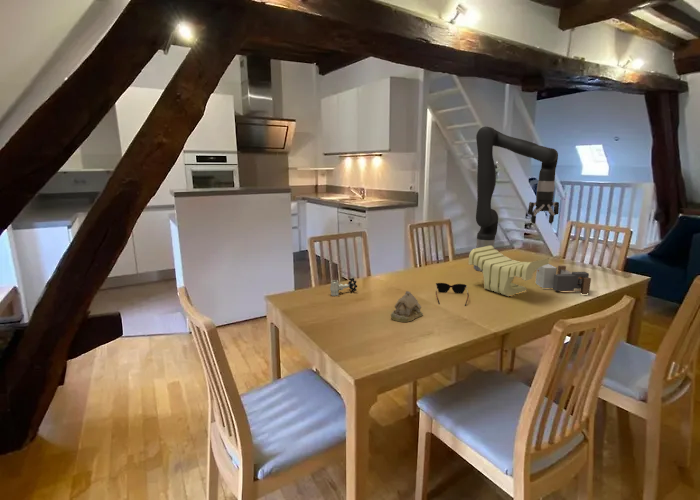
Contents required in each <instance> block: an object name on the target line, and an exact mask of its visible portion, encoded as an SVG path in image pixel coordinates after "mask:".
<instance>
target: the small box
mask: <svg viewBox="0 0 700 500" xmlns="http://www.w3.org/2000/svg"><path fill="white" fill-rule="evenodd" d="M557 271H558V267H556V266H553V265H552V264H550V263H549V264H547V265H544V266H541V267H539V268H538V269H536V271H535V272H536V273H535V283H536V284H537V285H539V286H540V287H542V288H553V283H554V275H555V274H557ZM536 284H535V285H536ZM537 285H536V286H537ZM539 286H538V287H539ZM540 287H539V288H540ZM542 288H541V289H542Z"/></svg>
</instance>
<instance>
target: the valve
mask: <svg viewBox="0 0 700 500" xmlns="http://www.w3.org/2000/svg"><path fill="white" fill-rule="evenodd" d="M356 283H357V280H355V278H354V277H351V278H349V280H348V282H347V283H345V284H343V283H339V280H338V279H331V280H330V287H329V289H330V295H331V296H332V297H338V296H339V293H340V291H343V290H344V289H347V288H349V289H350V290H351V292H356V291H357V288H358V284H356Z"/></svg>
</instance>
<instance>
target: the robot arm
mask: <svg viewBox="0 0 700 500" xmlns="http://www.w3.org/2000/svg"><path fill="white" fill-rule="evenodd" d="M475 136H476V138H475V139H476V148H477V166H476V167H477V168H476V169H477V170H476V171H477V172H476V173H477V174H476V179H477V180H476V181H477V182H476V185H477V187H476V188H477V190H476V193H477V200H476V201H477V202H476V203H477V204H476V213H475V222H476V224H477V225H478V226H479V227H480V229H479V231H478V233H477V234H476V244H475V248H480V247H485V246H493V247H494V248H495V239H496V236H497V233H498V225H499V214H498V212H497V211H496V210H495V209H493V208H492V198H493V195H494V192H495V188H496V184H497V170H496V164H495V161H494V154H493V147H498V148H503V149H505V150H508V151H510V152H513V153H515V154H517V155H520V156H524V157H527V158H530V159H534V160H536V161H538V162H541V168H540V170H539V175H538V181H537V182H538V183H537V187H536V189H537V190H536V198H535V199H536V200H535V202H532V201H530V202H529V203H528V209H527V214H528V215H530V216H531V218H530V222H531V223H532V224H536V221H537V215H538V213H540V212H548V213H549V216H548V223H549V224H553V222H554V219H555V216H556V215H559V213H560V212H559V209H560V202H558V201H553V200H554V195H555V194H554V193H555V188H556V187H555V179H556V169H557V165H558V159H559V152H558V151H557V149H555V148H552V147H547V146H543V145H540V144H537V143H535V142H533V141H532V142H531V141H529V140H525V139H522V138H517V137H514V136H509V135H507V134H504V133H502V132H500V131H499V130H497V129H495V128H494V127H490V126H482V127H481V128H479V129H478V130H477V133H476V135H475ZM534 207H535V208H534ZM552 207H553V208H552ZM473 269H474V270H475V271H477V272H483V269H482V270H481V269H480V268H479V267H478V266H475V265H473Z"/></svg>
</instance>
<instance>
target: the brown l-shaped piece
mask: <svg viewBox="0 0 700 500" xmlns="http://www.w3.org/2000/svg"><path fill="white" fill-rule="evenodd" d="M556 274H572V271H569V270H567V266H566V265H558V266H557V271H556ZM591 282H592V278H591V277H588V278H584V277H579V278H578V284H581V288H580V290H579V291H580V292H579V294H580V293H582V294H587V293H589V294H590V289H591Z"/></svg>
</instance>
